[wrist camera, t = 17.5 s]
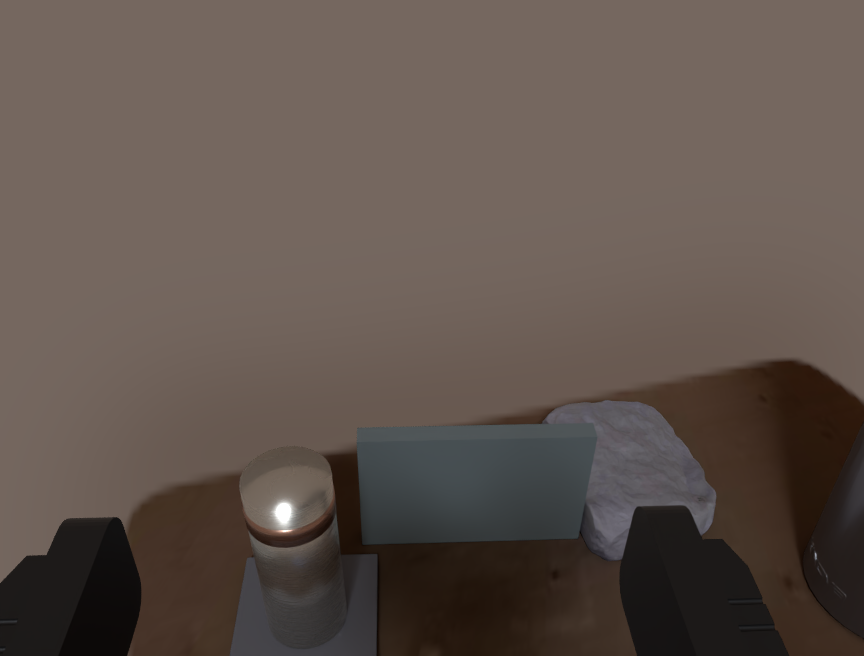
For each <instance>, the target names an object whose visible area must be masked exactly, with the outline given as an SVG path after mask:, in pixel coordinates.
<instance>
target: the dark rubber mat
mask: <svg viewBox="0 0 864 656" xmlns="http://www.w3.org/2000/svg"><path fill="white" fill-rule="evenodd" d="M341 561H342V569H343V578H344V587H345V596H346V605H347V615H346V619H345V622H344V624H343V626H342V628H341V630H340V631H339V632H338V633H337V634H336V635H335V636H334V637H333V638H332V639H331V640H330V641H328V642H326V643H325V644H323V645H320V646H318V647H315V648H310V649H294V648H290V647H287V646H285V645H283V644H282V643H280V642H279V641H278V640H276V639H275V637H274V636H273V635H272V633H271V631H270V629H269V625H268V620H267V615H266V611H265V606H264V601H263V597H262V592H261V587H260V582H259V578H258V573H257V568H256V564H255V559H254V557H253V558H247V562H246V568H245V574H244V579H243V585H242V590H241V596H240V601H239V607H238V613H237V618H236V624H235V629H234V635H233V640H232V646H231V651H230V656H377V582H378V556H377V554H358V555H341Z"/></svg>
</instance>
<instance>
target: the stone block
mask: <svg viewBox="0 0 864 656" xmlns="http://www.w3.org/2000/svg"><path fill="white" fill-rule="evenodd" d="M569 423H593V424H594V427H595V430H596V434H597V443H596V448H595V453H594V458H593V463H592V469H591V474H590V479H589V484H588V490H587V495H586V500H585V505H584V510H583V516H582V521H581V526H580V532H581V534H582V536H583V539H584V541H585V543H586V545H587V547H588V548H589V549H590V551H591V552H592V553H595V554H597V555H598V556H600V557H602V559H604V560H607V561H611V560H621V559H622V557H623V553H624V549H625V545H626V541H627V537H628V533H629V529H630V525H631V521H632V517H633V513H634V510H635V509H636V507H638V506H668V505H684V506H686V507H687V508H688V509H689V510H690V512H691V514H692V516H693V518H694V521H695V523H696V525H697V528H698V530H699V532H700V535H701V536H702V535H703V534H704V533H705V532H706V531H707V530H708V529H709V527H710V525H711V523H712V521H713V516H714V509H715V504H716V503H715V500H716V493H715V491H714V489H713V488H712V487H711V486H710V485H709V484H708V483H707V482H706V480H705V476H704V471H703V469H702V468H701V466H700V464H699V463H698V462H697V461H696V460H695V459H694V458H693V457H692V455H691V453H690V451H689V449H688V448H687V447H686V446H685V444H684V443H683V442H682V441H681V439H679V438H678V437H677V436H675V434H674V430H673V428H672V427H671V426H670V425H669V424H668V423H667V421H666V420H665V419H664V418H663V416H662V415H661V414H660V413H659V412H658V411H656V409H654V408H653V407H651V406H648V405H646V404H643V403H639V402H615V401H609V400H605V401H602V402H597V403H588V402H582V403H575V404H568V405H564V406H561V407H558V408H556V409H555V410H553V411H552V412H551V413H550V414H548V416H547V417H546V418H545V420H544V421H543V422H542V424H569Z"/></svg>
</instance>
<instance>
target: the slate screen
mask: <svg viewBox="0 0 864 656" xmlns="http://www.w3.org/2000/svg"><path fill="white" fill-rule="evenodd" d="M596 443H597V434H596V430H595V427H594V424H593V423H569V424H520V425H471V426H422V427H376V428H375V427H373V428H357V455H358V474H359V492H360V511H361V530H362V545H368V544H404V543H440V542H476V541H512V540H548V539H578V536H579V531H580V526H581V521H582V516H583V510H584V505H585V500H586V495H587V490H588V484H589V479H590V474H591V469H592V463H593V458H594V453H595V448H596Z"/></svg>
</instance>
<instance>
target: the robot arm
mask: <svg viewBox="0 0 864 656" xmlns="http://www.w3.org/2000/svg"><path fill="white" fill-rule="evenodd" d="M803 567H804V574H805V577H806V579H807V582H808V584H809V587H810V589H811V590H812V592H813V593H814V595H815V597H816V598H817V600H818V601H819V602H820V603H821V605H822V606H823V607H824V608H825V609H826V610H827V611H828V612H829V613H830V614H831V615H832V616H833V617H834V618H835V619H836V620H838V621H839V622H840V623H841V624H842V625H844V626H845V627H846V628H848V629H849V630H851V631H853V632H854V633H856V634H857V635H859V636H860V637H862V638H864V422H863V424H862V426H861V428H860V430H859V433H858V435H857V437H856V439H855V441H854V443H853V446H852V448H851V450H850V452H849V454H848V457H847V459H846V461H845V463H844V465H843V468H842V470H841V472H840V474H839V476H838V479H837V481H836V483H835V485H834V487H833V490H832V492H831V494H830V496H829V498H828V501H827V503H826V505H825V507H824V509H823V511H822V514H821V516H820V518H819V520H818V523H817V525H816V527H815V529H814V531H813V534H812V536H811V538H810V540H809V542H808V545H807V547H806V549H805V551H804V557H803ZM620 593H621V599H622V604H623V608H624V611H625V615H626V618H627V622H628V625H629V629H630V632H631V636H632V639H633V643H634V646H635V650H636V653H637V656H789V654H788V652H787V650H786V648H785V646H784V643H783V641H782V639H781V637H780V635H779V633H778V630H777V631H776V630H775V628H774V622H773V620H772V617H771V615H770V613H769V611H768V609H767V607H766V604H763V602H762V596H761V594H760V591H759V589H758V587H757V585H756V583H755V581H754V578H753V576H752V574H751V572H750V570H749V568H748V566H747V565H746V564H745V563H744V562H743V561H742V559H741V558H740V557H739V556H738V555H737V554H736V553H735V552H734V551H733V550H732V549H731V548H730V547H729V546H728V545H727V544H726V543H725V542H724V540H723V539H704V540H702V537H701V535H700V532H699V530H698V528H697V525H696V523H695V521H694V518H693V516H692V514H691V512H690V510H689V509H688V508H687V507H686V506H684V505H668V506H638V507H636V509H635V510H634V513H633V517H632V521H631V525H630V529H629V533H628V537H627V541H626V545H625V549H624V553H623V557H622V561H621V566H620ZM140 606H141V582H140V577H139V573H138V570H137V567H136V564H135V561H134V558H133V555H132V551H131V548H130V545H129V542H128V539H127V536H126V533H125V530H124V526H123V524H122V522H121V520H120V519H119V518H117V517H112V518H70V519H66V520H64V521H63V522H62V524H61V525H60V527H59V529H58V531H57V533H56V535H55V537H54V540H53V542H52V544H51V546H50V549H49V551H48V553H47V555H38V556H26V557H25V558H24V559H23V560H22V561H21V562H20V563H19V564H18V565H17V566H16V568H15V569H14V570H13V571H12V572H11V573H10V574H9V575H8V576H7V577H6V578H5V579H4V580H3V581H2V582H1V583H0V656H127V654H128V651H129V648H130V644H131V641H132V638H133V634H134V631H135V628H136V624H137V621H138V617H139V612H140Z"/></svg>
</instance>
